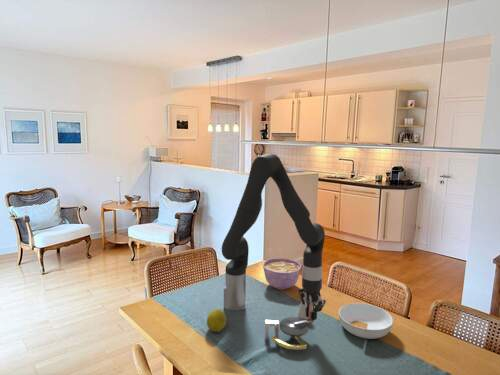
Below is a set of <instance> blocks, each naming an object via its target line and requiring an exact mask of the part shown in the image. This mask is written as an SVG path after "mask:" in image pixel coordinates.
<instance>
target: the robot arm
mask: <svg viewBox="0 0 500 375" xmlns="http://www.w3.org/2000/svg"><path fill="white" fill-rule="evenodd" d="M270 178H271V179H272V180H273V181H274V183H275V184H276V186H277V188H278V190H279V193H280V197H281V201H282V204H283V207H284V209H285V211H286V212H287V214H288V216H289V217H290V218H291V220H292V221H293V223H294V226H295V228H296V231H297V233H298V235H299V238H300V239H301V241H302V242H303V243H304V244H305V245H306V247H305V249H304V250H303V254H302V268H301V270H302V273H301V276H302V277H301V286H302V288H299V289H298V293H299V297H300V300H301V302H302V304H304V305H305V308H306V317H308V315H309V303H310V306H311V320H312V321H314V322H315V321H317V318H318V313H319V312H322V310H323V309H324V306H325V305H326V299H323V298H322V294H321V290H322V287H323V249H324V245H325V238H326V236H325V235H326V233H325V229H324V227H323V226H322V225H321V224H320V223H316V222H314V223H313V222H312V221H311V220H312V219H311V218H310V217H311V213H310V211H309V209H308V208H307V206H306V205H305V203H304V202H303V200H302V199H301V198H300V195H299V194H298V192H297V191H296V189H295V187H294V185H293V183H292V181H291V179H290V177H289V175H288V173H287V171H286V169H285V166H284V164H283V162H282V160H281V158H280V157H279V156H278V155H277V154H275V153H266V154H265V153H264V154H261V155H259V156H256V157H255V159H254V160H253V162H252V164H251V166H250V171H249V174H248V179H247V183H246V185H245V188H244V191H243V193H242V196H241V199H240V201H239V204H238V206H237V209H236V211H235V212H236V213H235V216H234V218H233V220H232V223H231V225H230V227H229V230H228V232H227V234H226V235H225V238H224V239H223V242H222V245H221V253H222V256H223V258H224V259H225V260H229V262H228V263H227V264H226V265H225V287H224V288H223V308H224V309H225V310H228V311H244V310H245V309H246V306H247V305H246V301H247V300H246V299H247V298H246V297H247V296H246V295H247V292H246V291H247V289H246V287H247V286H246V285H247V283H246V281H247V280H246V279H247V278H246V277H247V267H248V265H249V243H248V241H247V239H246V238H245V237H244V235H245V234H246V233H247V232H248V231H249V230H250V229H251V228H252V227H253V226H254V224H255V223H256V221H257V220H258V218H259V216H260V213H261V210H262V206H263V199H262V194H263V190H264V187H265V186H266V183H267V181H268V180H269V179H270ZM303 298H304V299H303ZM301 302H300V303H301ZM314 306H315V308H314Z"/></svg>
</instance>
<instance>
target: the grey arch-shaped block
mask: <svg viewBox="0 0 500 375" xmlns="http://www.w3.org/2000/svg"><path fill="white" fill-rule="evenodd" d="M264 322H265V323H264V340H266V341H267V340H268V341H269V335H270V334H269V330H270V329H269V328H270V327H274V336H276V337H277V338H278V339H279V334H280V333H279V331H280V322H279V320H277V319H276V320H274V319H265V320H264Z"/></svg>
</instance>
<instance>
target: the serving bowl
mask: <svg viewBox="0 0 500 375" xmlns="http://www.w3.org/2000/svg"><path fill="white" fill-rule="evenodd" d="M338 318H339V321H340V323H341V325H342V327H343V328H344V329H345V330H346V331H347V332H348V333H350V334H352V335H353V336H357V337H358V338H362V339H369V340H370V339H372V340H373V339H380V338H383V337H385V336H386V335H388V333H390V331H391V329H392V328H393V324H394V319H393V317H392V315H391V314H390V313H389V312H387V310H385V309H383V308H381V307H379V306H376V305H374V304H369V303H365V302H364V303H363V302H352V303H347V304H345V305H343V306H341V307H340V308H339V310H338ZM353 322H360V323H362V324H363V323H364V324H367V325H366V328H364V327H360V326H356V325H354V324H352V323H353Z"/></svg>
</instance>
